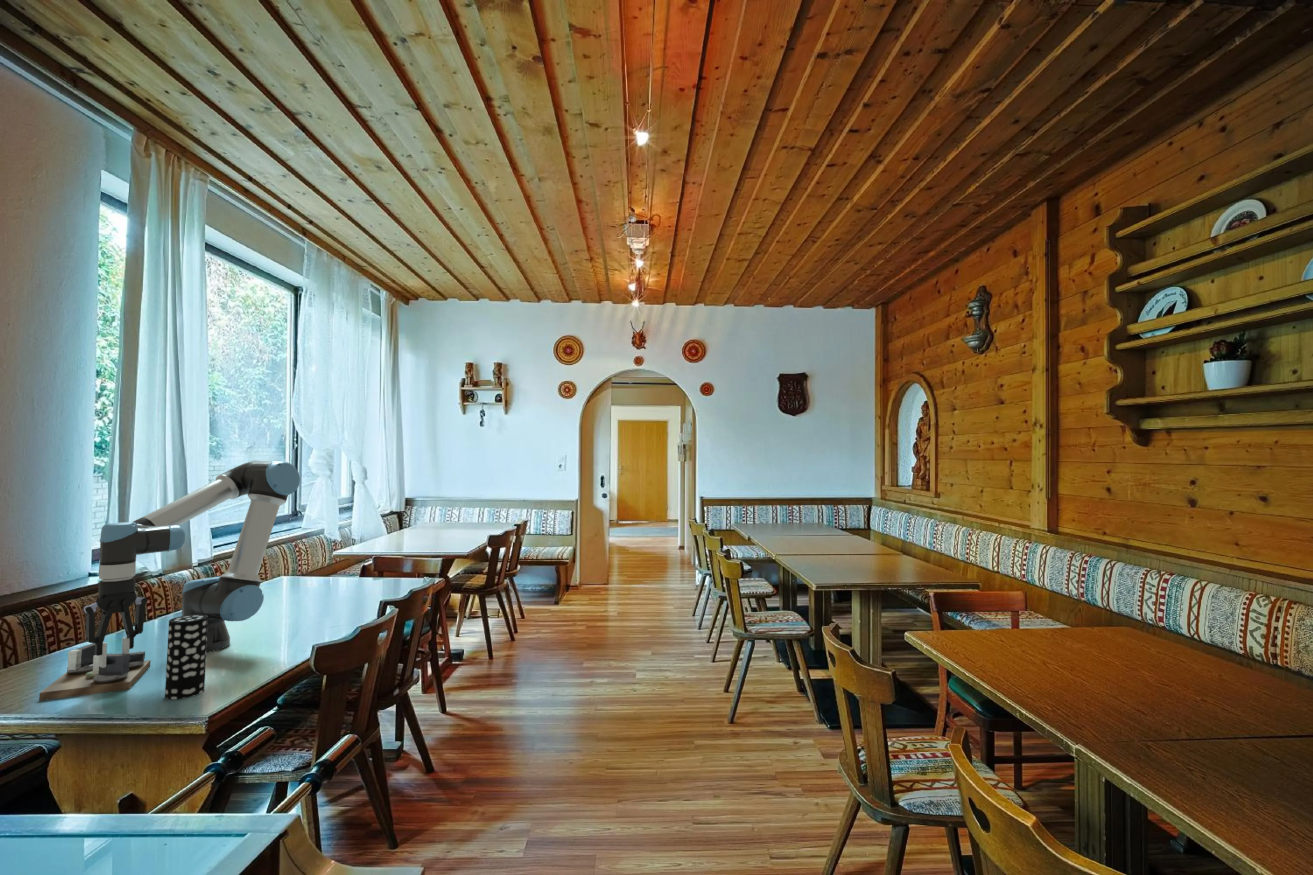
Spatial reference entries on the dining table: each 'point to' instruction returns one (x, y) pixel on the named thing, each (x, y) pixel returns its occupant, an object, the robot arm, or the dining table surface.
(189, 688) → the white-spotted black cylinder
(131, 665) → the knob
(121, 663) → the knob
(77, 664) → the knob
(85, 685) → the base
